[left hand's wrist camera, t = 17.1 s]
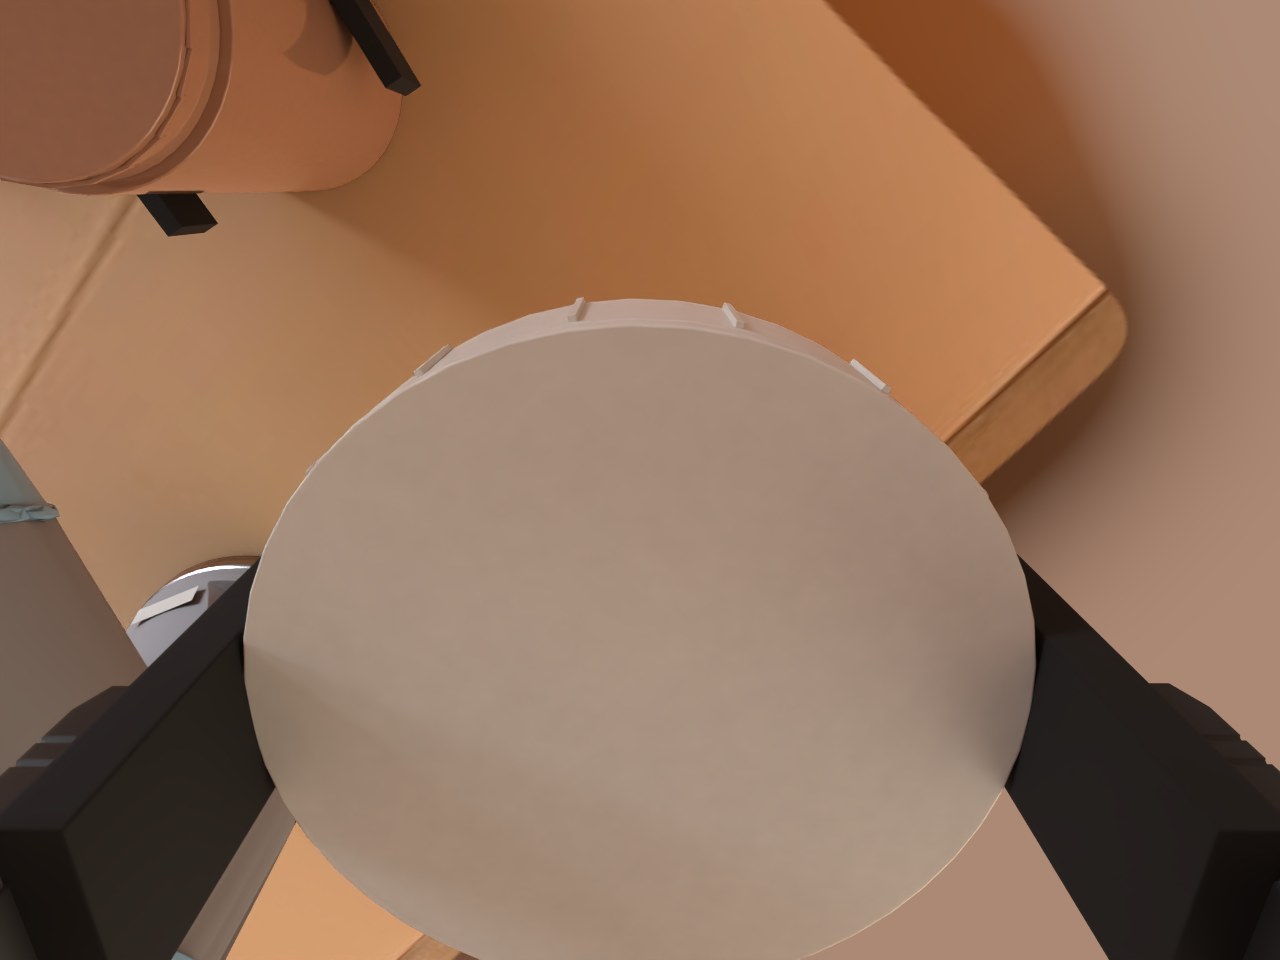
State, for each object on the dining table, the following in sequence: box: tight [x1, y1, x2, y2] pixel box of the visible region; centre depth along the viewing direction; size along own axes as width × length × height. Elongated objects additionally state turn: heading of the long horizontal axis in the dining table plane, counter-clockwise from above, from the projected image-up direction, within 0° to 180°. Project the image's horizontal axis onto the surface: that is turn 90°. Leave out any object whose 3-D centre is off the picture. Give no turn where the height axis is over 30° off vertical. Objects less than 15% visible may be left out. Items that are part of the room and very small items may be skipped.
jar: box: [0, 0, 402, 195], centre depth 27 cm, size 10×10×18 cm
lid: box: [243, 297, 1036, 960], centre depth 12 cm, size 11×11×2 cm
